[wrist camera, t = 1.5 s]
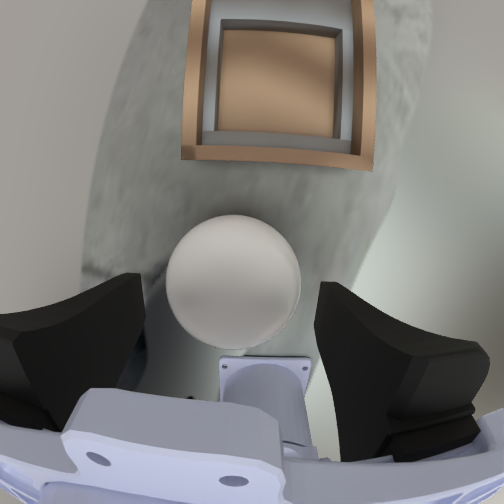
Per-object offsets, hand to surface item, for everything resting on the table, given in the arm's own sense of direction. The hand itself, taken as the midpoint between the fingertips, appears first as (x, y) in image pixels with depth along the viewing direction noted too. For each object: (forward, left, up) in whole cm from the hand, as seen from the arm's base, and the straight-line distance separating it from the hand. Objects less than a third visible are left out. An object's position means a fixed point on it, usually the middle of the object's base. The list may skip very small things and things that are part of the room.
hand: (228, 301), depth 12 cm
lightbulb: (0, 0, -11) cm, 11 cm away
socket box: (+12, -2, -10) cm, 16 cm away
